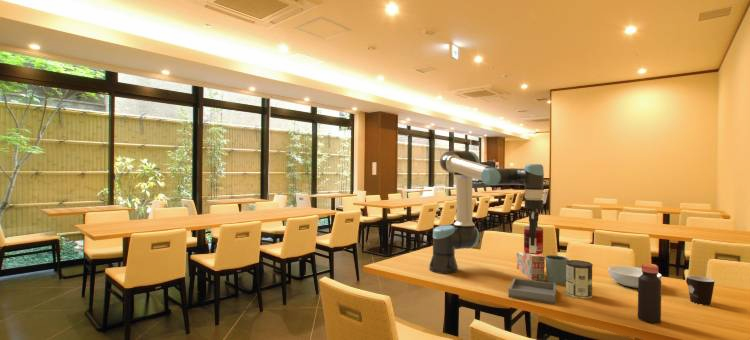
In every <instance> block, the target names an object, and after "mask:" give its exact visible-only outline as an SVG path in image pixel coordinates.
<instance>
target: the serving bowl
mask: <svg viewBox="0 0 750 340" xmlns="http://www.w3.org/2000/svg"><path fill="white" fill-rule="evenodd" d="M607 269H608V274H609V276H610V278H612V279H613V281H615V282H616V283H618V284H621V285H623V286H627V287H629V288H633V289H634V288H635V289H638V278H639V277H640V276H641V275H642V274H643V272H642V267H636V266H629V265H627V266H626V265H612V266H609V267H608V268H607ZM657 277H658V278H659V279H660V280H661V281H662V274H661V273H659V272H658V274H657Z"/></svg>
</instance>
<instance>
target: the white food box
mask: <svg viewBox="0 0 750 340" xmlns="http://www.w3.org/2000/svg"><path fill="white" fill-rule="evenodd" d="M545 256H546V255H543V253H542V254H528V253H525V252H524V249H523V251H517V252H516V269H517V270H518V271H519V272H521V273H522V274H523V275H525V276H527V278H529V280H533V281H545V268H546V259H545Z"/></svg>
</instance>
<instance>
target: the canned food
mask: <svg viewBox="0 0 750 340" xmlns="http://www.w3.org/2000/svg"><path fill="white" fill-rule="evenodd" d="M528 236H529V225H528V226H524V228H523V250H524V252H525V253H528V254H542V255H543V253H544V228H543V227H541V226H538V227H536V253H529V238H528Z"/></svg>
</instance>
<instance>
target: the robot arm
mask: <svg viewBox="0 0 750 340" xmlns="http://www.w3.org/2000/svg"><path fill="white" fill-rule="evenodd" d="M439 165H440V167H441V168H442V170H443V171H445V172H448V173H451V174H453V176H454V177H455V179H456V195H455V196H456V198H455V200H456V201H455V202H456V221H455V222H454V223H453V225H450V224H449V225H440V226H436V227H434V228H433V230H432V257H431V259H430V263H429V267H428V268H429V270H430V271H431V272H434V273H438V274H455V273H457V272H458V269H459V266H458V264H457V259H456V257H455V255H456V253H455V251H456V250H461V249H462V250H463V249H470V248H474V247H476V246H477V245H478V243H479V241H480V232H479V230H478V228H477V227H476V224H475V223H474V222H473V179H476V180H479V181H481V182H483V184H484V185H487V186H512V185H514V186H524V198H525V200H524V208H526V209H530V211H529V212H528V223H529V224H528V226H529V236H528V238H529V253H536V227H539V226H538V222H539V216H540V213H539V212H538V210H542V209H544V200H543V199H544V195H545V194H546V193H545V191H544V175H545V172H544V166H543V164H542V163H540V164H539V163H535V164H534V163H529V164H528V163H527V164H525V166H524V168H515V167H514V168H513V167H511V168H510V167H509V168H506V167H505V168H497V167H494V166H489V165H486V164H482V163H480V158H479V156H478V155H477V154H476V153H475V152H474V151H469V150H448V151H446V152H444V153H443V154H442V155H441V156H440V159H439Z"/></svg>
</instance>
